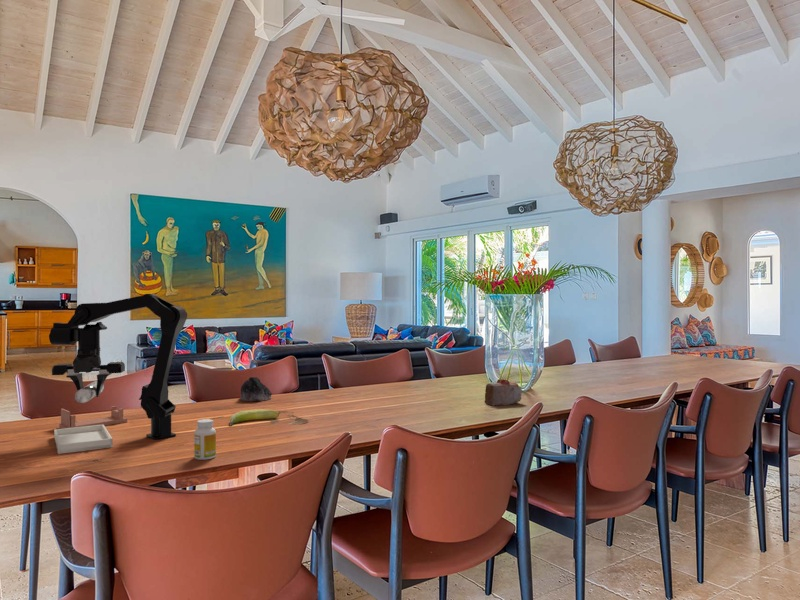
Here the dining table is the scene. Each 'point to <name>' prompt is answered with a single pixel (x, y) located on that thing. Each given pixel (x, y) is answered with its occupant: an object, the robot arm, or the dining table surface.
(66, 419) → the hitch bracket
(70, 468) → the dining table surface
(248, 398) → the dark grey rough lump
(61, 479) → the dining table surface
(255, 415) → the unripe green banana
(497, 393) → the food item
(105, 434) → the tray
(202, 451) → the supplement bottle
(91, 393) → the pin
